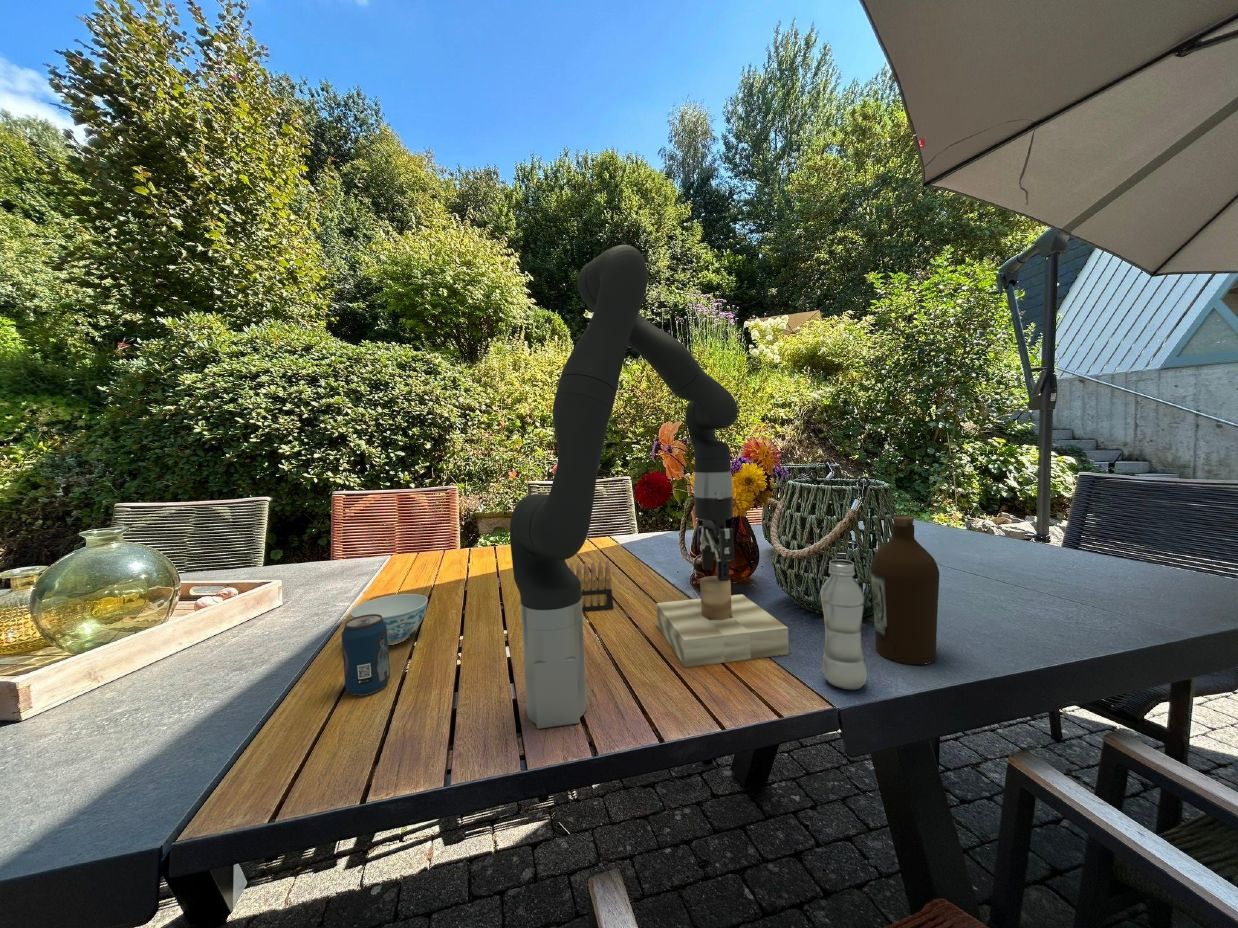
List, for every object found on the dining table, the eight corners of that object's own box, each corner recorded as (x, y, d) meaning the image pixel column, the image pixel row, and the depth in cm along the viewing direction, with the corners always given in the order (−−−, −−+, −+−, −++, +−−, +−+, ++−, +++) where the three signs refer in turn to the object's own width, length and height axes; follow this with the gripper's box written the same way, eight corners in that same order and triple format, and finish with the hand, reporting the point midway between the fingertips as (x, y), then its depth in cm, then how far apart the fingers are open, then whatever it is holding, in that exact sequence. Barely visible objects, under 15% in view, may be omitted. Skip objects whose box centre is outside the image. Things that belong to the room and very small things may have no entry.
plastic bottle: (842, 698, 73) (839, 569, 72) (813, 677, 80) (810, 559, 79) (877, 691, 75) (874, 565, 74) (845, 671, 81) (843, 555, 80)
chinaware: (429, 646, 99) (427, 610, 99) (347, 661, 94) (344, 623, 93) (429, 622, 113) (427, 590, 113) (358, 634, 108) (355, 600, 107)
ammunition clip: (612, 606, 118) (610, 559, 117) (613, 609, 116) (611, 560, 116) (569, 610, 117) (567, 561, 116) (569, 612, 115) (567, 563, 115)
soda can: (349, 682, 85) (344, 616, 84) (392, 674, 87) (387, 610, 87) (342, 702, 79) (336, 630, 78) (388, 692, 81) (383, 623, 80)
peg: (737, 642, 94) (735, 583, 94) (708, 646, 93) (706, 585, 93) (725, 631, 100) (723, 574, 100) (698, 634, 99) (696, 577, 99)
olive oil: (929, 643, 90) (927, 512, 89) (949, 670, 80) (947, 522, 79) (867, 639, 94) (864, 512, 92) (878, 663, 83) (876, 522, 82)
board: (788, 654, 89) (788, 627, 88) (685, 667, 85) (683, 639, 85) (743, 615, 108) (742, 594, 108) (657, 625, 105) (656, 603, 105)
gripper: (684, 492, 102) (686, 567, 102) (707, 499, 88) (709, 586, 88) (717, 490, 103) (719, 564, 104) (746, 497, 89) (748, 583, 89)
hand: (715, 574), depth 96 cm, fingers open, 8 cm apart
